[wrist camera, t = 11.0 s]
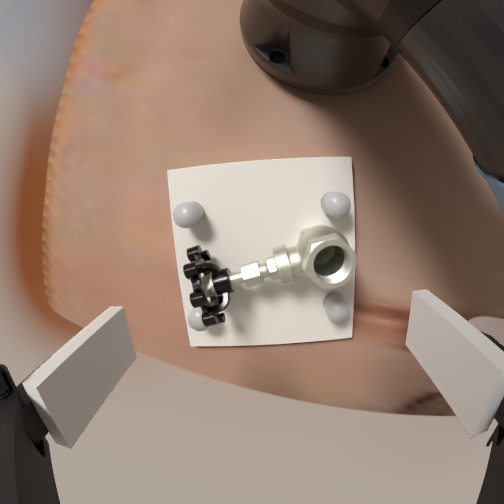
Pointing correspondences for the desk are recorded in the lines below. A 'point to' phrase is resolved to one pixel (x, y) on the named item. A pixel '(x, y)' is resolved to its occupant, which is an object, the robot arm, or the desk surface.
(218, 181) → the mounting plate
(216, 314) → the valve
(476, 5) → the robot arm
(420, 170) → the desk surface
